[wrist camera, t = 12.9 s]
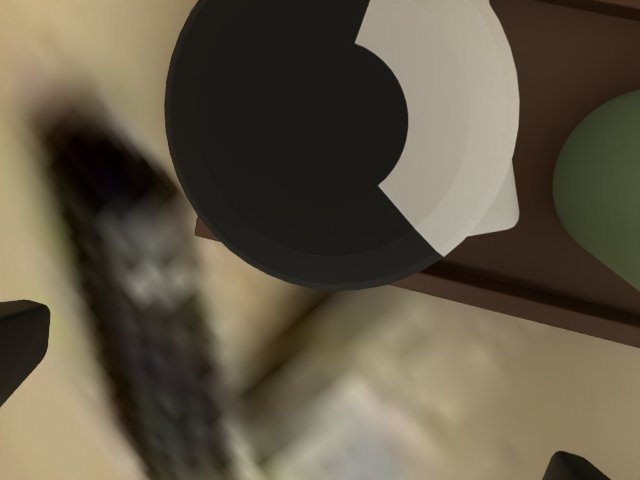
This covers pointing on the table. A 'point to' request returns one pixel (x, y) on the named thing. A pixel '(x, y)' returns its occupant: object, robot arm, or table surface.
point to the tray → (548, 175)
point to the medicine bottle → (344, 132)
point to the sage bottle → (604, 185)
